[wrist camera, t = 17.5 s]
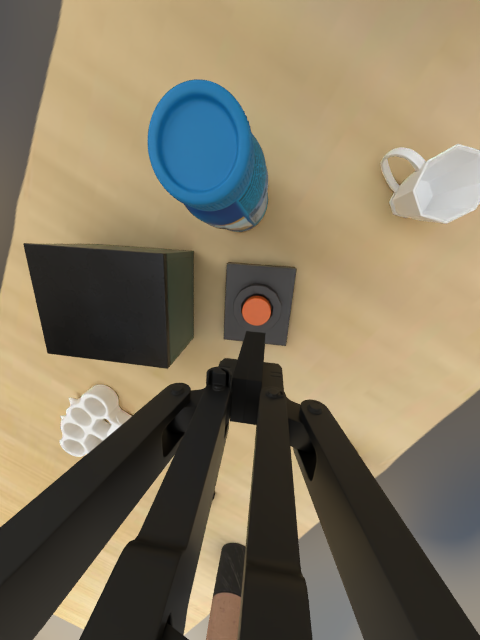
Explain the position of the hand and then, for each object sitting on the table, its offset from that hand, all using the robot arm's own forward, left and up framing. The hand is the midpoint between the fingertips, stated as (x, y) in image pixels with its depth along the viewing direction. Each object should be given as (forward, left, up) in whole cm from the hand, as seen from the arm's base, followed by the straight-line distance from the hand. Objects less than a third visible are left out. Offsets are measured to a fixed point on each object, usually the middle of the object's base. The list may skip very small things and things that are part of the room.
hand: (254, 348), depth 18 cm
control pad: (+1, -1, -20) cm, 20 cm away
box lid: (+1, -20, -10) cm, 22 cm away
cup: (-15, +16, -20) cm, 30 cm away
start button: (+1, -1, -16) cm, 16 cm away
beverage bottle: (-13, -5, -20) cm, 24 cm away
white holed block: (+30, -32, -20) cm, 48 cm away
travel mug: (+65, -1, -20) cm, 68 cm away
